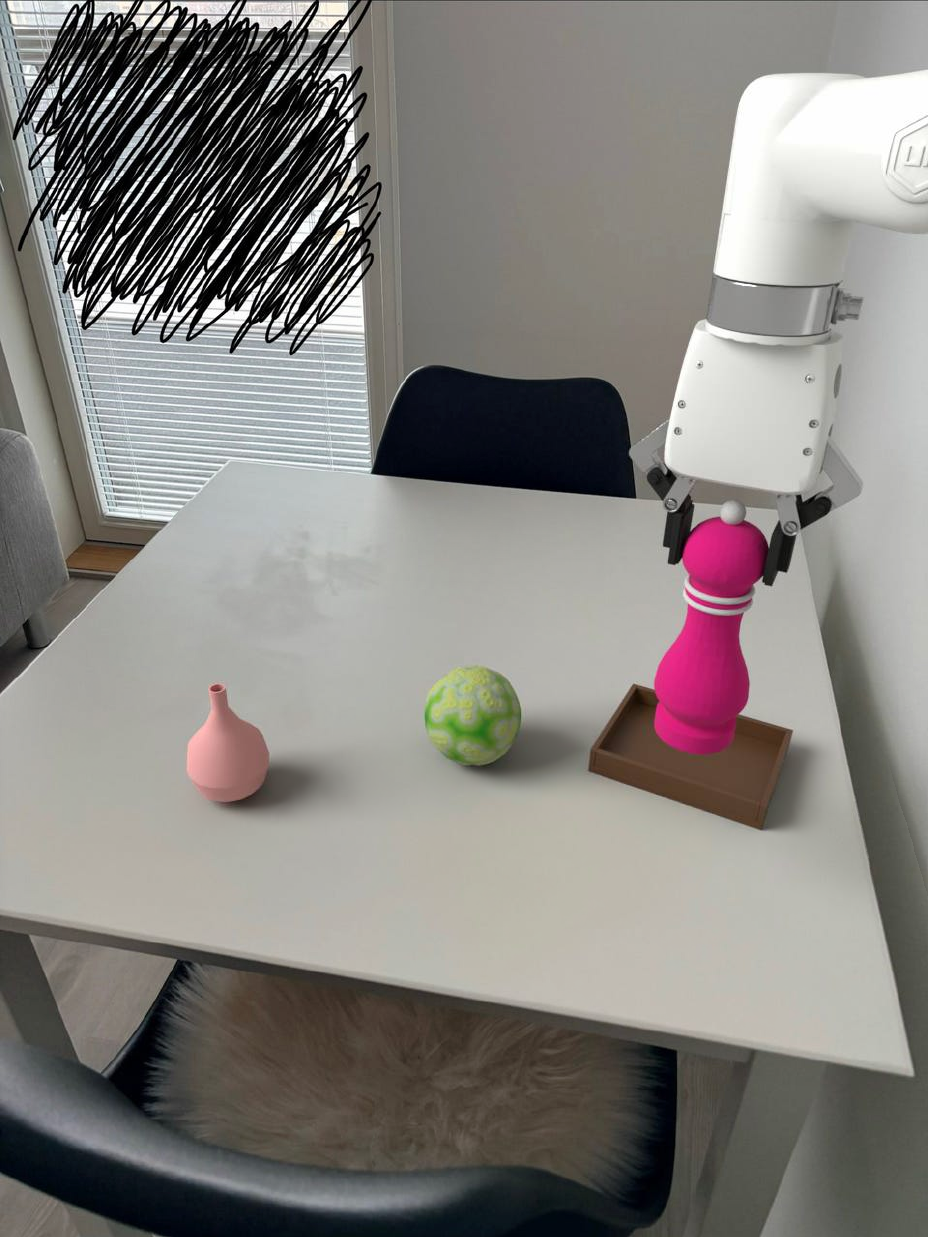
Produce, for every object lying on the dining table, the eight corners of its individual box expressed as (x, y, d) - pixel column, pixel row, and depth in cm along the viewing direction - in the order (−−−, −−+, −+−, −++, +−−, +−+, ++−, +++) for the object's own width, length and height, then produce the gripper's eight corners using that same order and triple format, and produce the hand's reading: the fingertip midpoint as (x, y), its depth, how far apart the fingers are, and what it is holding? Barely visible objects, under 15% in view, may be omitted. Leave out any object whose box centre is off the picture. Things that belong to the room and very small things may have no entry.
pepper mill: (737, 711, 73) (785, 486, 63) (741, 766, 67) (794, 527, 57) (649, 699, 74) (682, 477, 64) (645, 751, 68) (681, 515, 58)
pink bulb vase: (195, 767, 88) (177, 668, 82) (272, 759, 89) (261, 661, 83) (188, 821, 81) (168, 717, 75) (271, 812, 83) (258, 709, 76)
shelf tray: (787, 751, 92) (793, 730, 90) (761, 830, 81) (766, 807, 80) (630, 703, 98) (633, 683, 97) (587, 771, 88) (590, 749, 87)
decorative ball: (405, 747, 91) (403, 667, 86) (481, 714, 96) (483, 637, 91) (461, 800, 84) (463, 717, 79) (540, 761, 89) (546, 681, 84)
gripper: (925, 311, 54) (855, 572, 63) (651, 285, 60) (624, 525, 69) (919, 336, 48) (843, 619, 57) (617, 304, 55) (592, 562, 64)
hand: (723, 565), depth 63 cm, fingers closed on pepper mill, 6 cm apart
